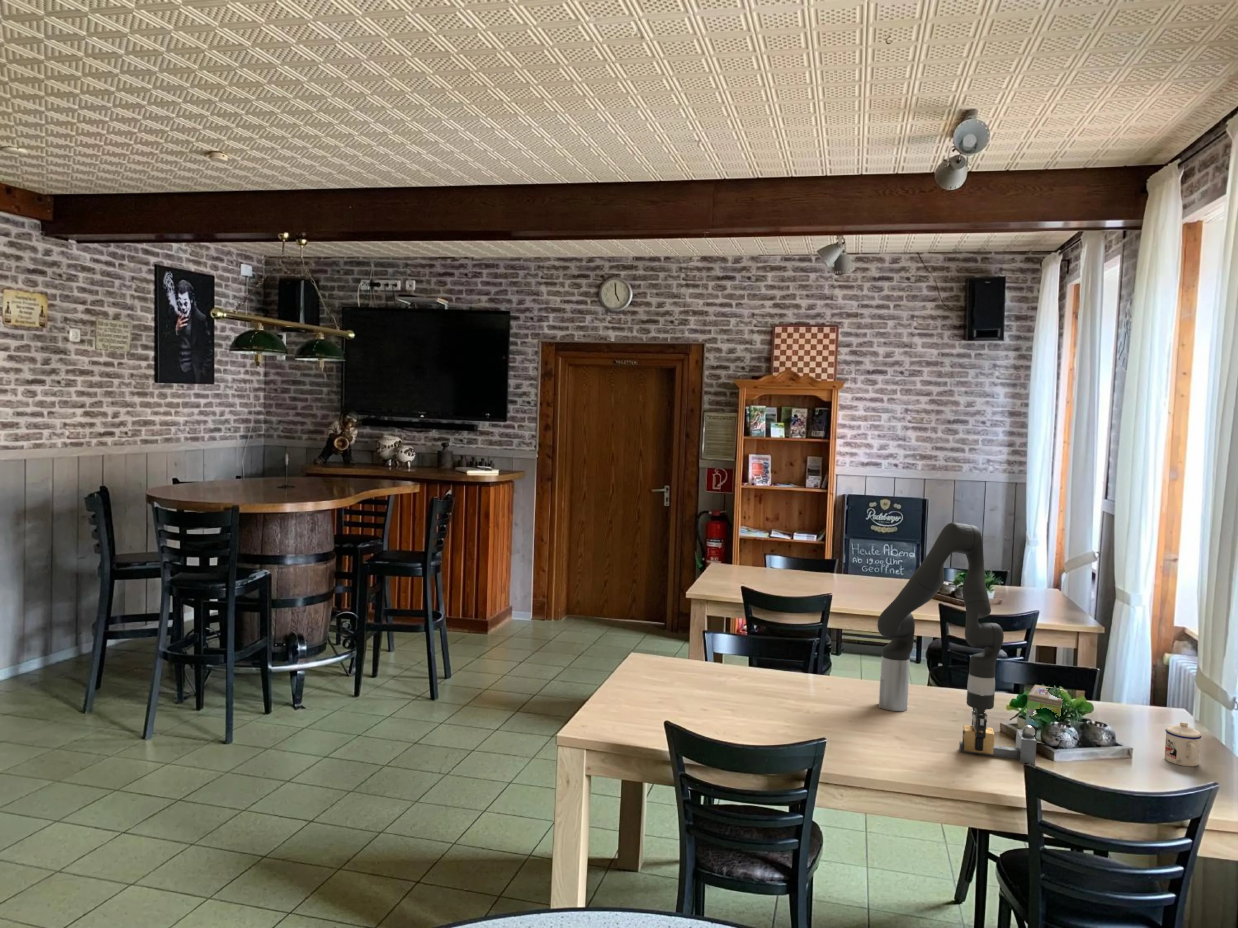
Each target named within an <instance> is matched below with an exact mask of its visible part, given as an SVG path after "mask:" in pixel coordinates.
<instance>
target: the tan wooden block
mask: <svg viewBox="0 0 1238 928" xmlns="http://www.w3.org/2000/svg"><path fill="white" fill-rule="evenodd" d="M962 726H963V727H962V729H963V730H962V740H961V741H962V742H964V751H970V752H978V753H986V754H993V750H994V745H995V732H994V730H993V727H988V726H986V735H985V736H986V737H985V738H984V742H983V751H977V750H975V729H974V728H973V726H972V725H969V724H963V725H962ZM978 733H979V734H982V731H979V732H978Z"/></svg>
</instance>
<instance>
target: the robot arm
mask: <svg viewBox="0 0 1238 928" xmlns="http://www.w3.org/2000/svg"><path fill="white" fill-rule="evenodd" d="M953 553H957V554H963V555H965V557H966V559H967V563H968V568H967V572H966V575H965V577H964V580H963V584H962V588H961V591H962V598H963V603H964V609H965V625H964V626H965V629H964V638H965V641H966V643H968V645H969V646H970V647H973V648H984V649H983V650H982V651H981V652H979V653H974V654H972V655H970V658H969V667H968V668H969V669H968V670H969V672H968V677H967V685H966V686H967V688H966V705H967V706H968V707H970V708H972V710H971V726H973V728H974V729H975V750H977V751H983V742H984V738H985V737H986V736H985V735H986V727H987V723H988V714H987V711H986V710H992V709H994V707H995V695H996V694H995V693H996V691H995V690H996V679H995V677H996V663H997V660H998V657H999V654H1000V651H1001V649H1002V646H1003V642H1004V639H1005V637H1004V635H1005V633H1004V630H1003V628H1002V627H1001V625H1000V624H998V623H995V622H979V619H983V618H986V617H988V616H989V615H991V613H992V608H991V607H992V606H991V603H990V598H989V593H988V590H987V584H986V579H985V577H986V575H985V558H984V543H983V536H982V532H981V530H980V529H979V528H978V526H976V525H973V524H969V523H961V522H949V523H947V524H946V525H945V526H944V527H943V528H942V529H941V531H940V532H939V534H938V536H937V538H936V540H935V542H934V543H933V546H932V547H931V549H930V550H929V552H928V553H927V555H926V556H925V558H924V560H923V561H922V562H921V564H920V565H919V566H918V568H917V569H916V570H915V571H914V573H913V574H912V575H911V577H910V579H909V580H908V582H906V584H905V586H904V587H903V588H902V589H901V590H900V592H899V593H898V594H897V596H896V597H895V598H894V599H893V601H892V602H890V604H888V606H887V607H886V608H885V609H884V610H883V611H882V612H881V613H880V615H879V617H878V620H877V630H878V632H879V634H880V635H881V636H882V637H884V638H887V639H891V640H890V642H889V643H887V644H885V645H884V646H883V647H882V648H881V657H880V659H881V660H880V676H879V695H878V708H879V709H884V710H887V711H890V712H891V711H892V712H904V711H907V710H908V701H909V700H908V699H909V682H910V681H909V680H910V664H911V662H910V661H911V654H912V652H913V649H914V639H915V630H916V629H915V628H916V624H915V623H916V622H915V619H914V615H913V614H912V612H914V611H916V610H918V609H919V608H921V607H923V606H924V605H925V604H927V603H928V602H930V601H931V600H932V599H933V598H934V597H935V596H936V595H937V593H939V591H940V589H941V588H942V587H943V585H944V581H945V563H946V562H947V560H948V559H949V557H950V556H951V555H952V554H953ZM979 731H982V734H979V733H978V732H979Z"/></svg>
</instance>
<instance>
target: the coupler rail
mask: <svg viewBox="0 0 1238 928" xmlns="http://www.w3.org/2000/svg"><path fill="white" fill-rule="evenodd" d="M1034 735H1035V729H1034V728H1033V727H1032V726H1030V725H1026V726H1025V725H1024V726H1023V727H1021V729H1018V728H1016V737H1015V747H1012V746H1005V745H1003V746H1002V745H995V744H994V750H993V754H986V753H978V752H970V751H964V742H962V741H963V740H961V741H959V745H958V746H959V747H958V750H959V753H964V754H966V753H967V754H973V755H982V756H990V757H999V758H1007V759H1015V760H1018V762H1019V764H1025V763H1030V764H1029V765H1036V757H1037V756H1036V755H1037V754H1036V753H1037V743H1036V742H1037V741H1036V739H1035V737H1034Z"/></svg>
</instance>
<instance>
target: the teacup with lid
mask: <svg viewBox="0 0 1238 928" xmlns="http://www.w3.org/2000/svg"><path fill="white" fill-rule="evenodd" d="M1164 731H1165V732H1166V733H1165V745H1164V759H1165V760H1166V761H1167V762H1169V763H1171V764H1174V765H1178V766H1183V767H1197V766H1198V765H1199V764H1200V762H1199V761H1200V752H1201V751H1200V749H1201V738H1202V734H1201V732H1200V731H1198V730H1197V729H1194V728H1192V727H1191V726H1189V724H1188V722H1186V721H1179V724H1174V725H1169V726H1166V727H1165V730H1164Z"/></svg>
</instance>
